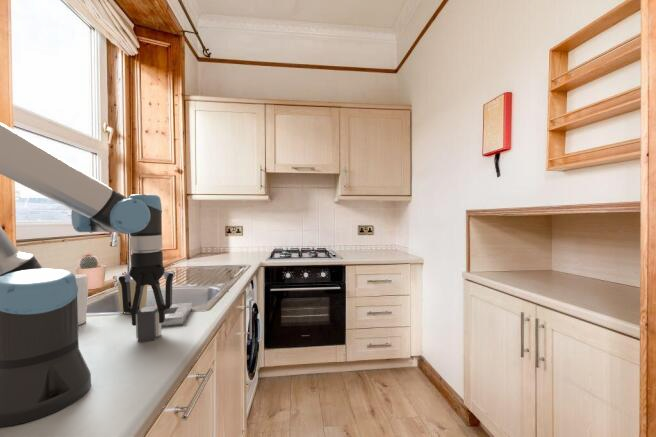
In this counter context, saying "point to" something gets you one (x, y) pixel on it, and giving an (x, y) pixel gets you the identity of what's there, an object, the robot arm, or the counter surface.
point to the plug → (146, 324)
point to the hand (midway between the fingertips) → (149, 335)
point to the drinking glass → (82, 297)
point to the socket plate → (176, 314)
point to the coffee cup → (132, 294)
